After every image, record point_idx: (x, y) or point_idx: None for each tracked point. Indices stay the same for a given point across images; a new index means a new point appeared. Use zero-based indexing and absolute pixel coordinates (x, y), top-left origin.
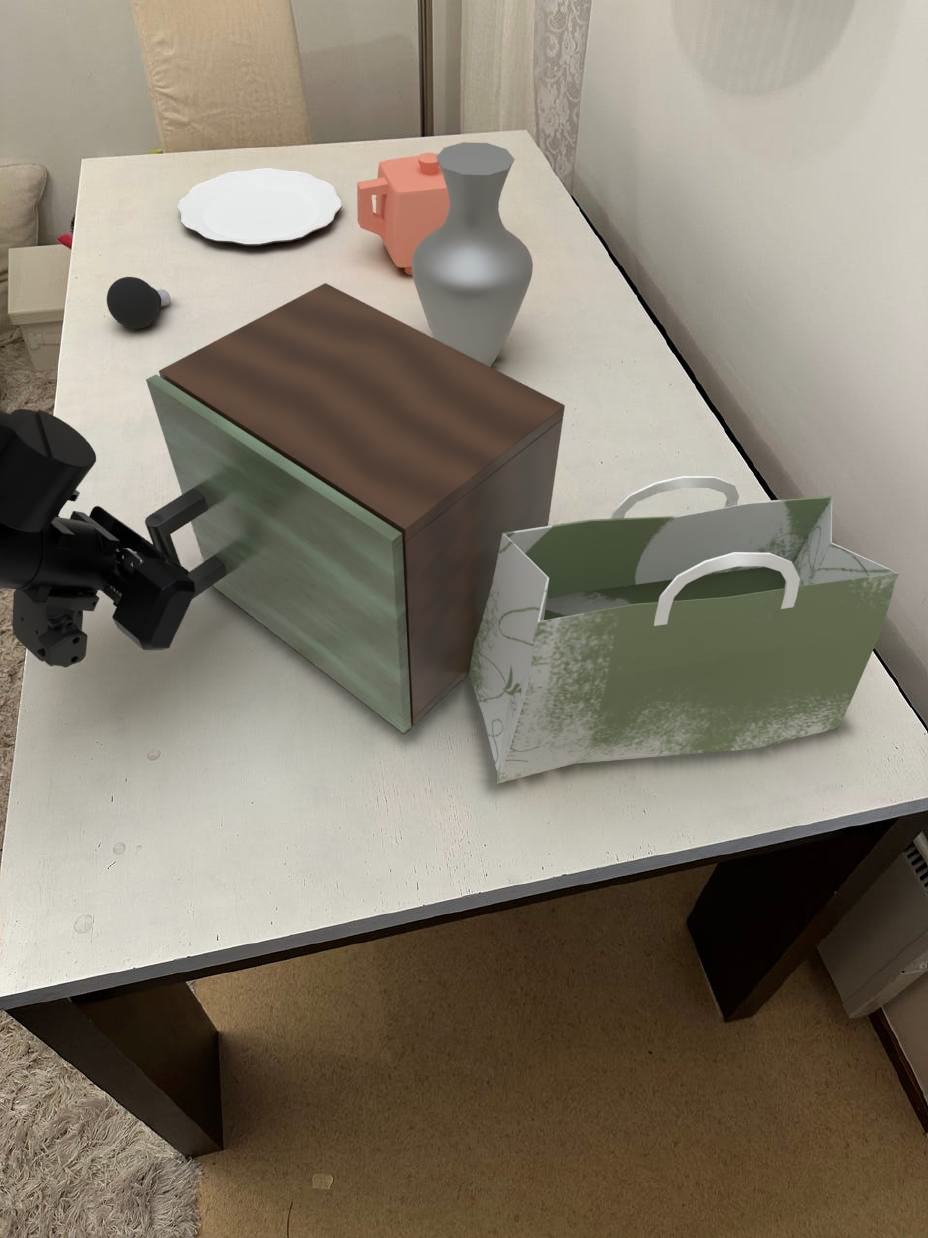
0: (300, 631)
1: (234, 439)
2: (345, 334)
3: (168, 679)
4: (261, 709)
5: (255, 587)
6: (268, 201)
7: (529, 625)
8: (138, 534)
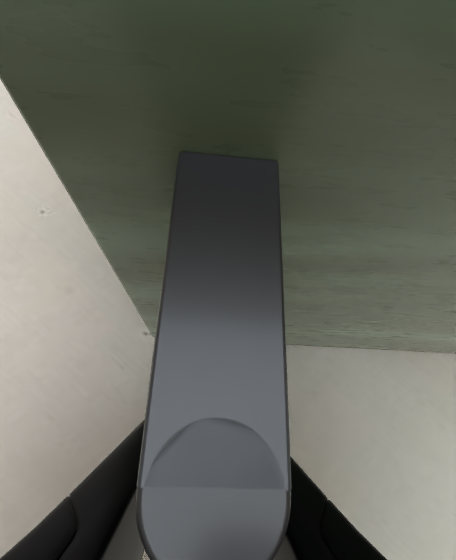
0: (434, 334)
1: None
2: None
3: None
4: (422, 472)
5: (335, 318)
6: None
7: None
8: (83, 538)
